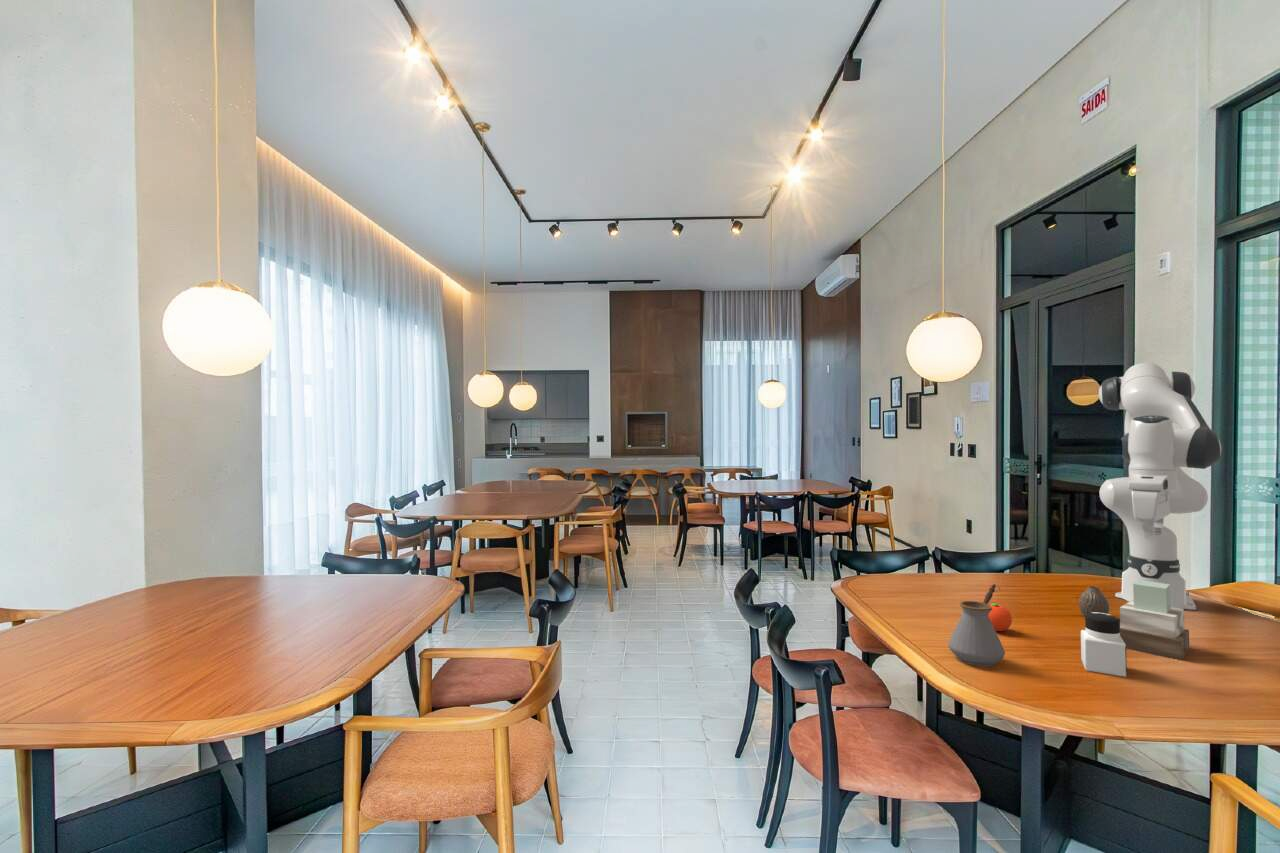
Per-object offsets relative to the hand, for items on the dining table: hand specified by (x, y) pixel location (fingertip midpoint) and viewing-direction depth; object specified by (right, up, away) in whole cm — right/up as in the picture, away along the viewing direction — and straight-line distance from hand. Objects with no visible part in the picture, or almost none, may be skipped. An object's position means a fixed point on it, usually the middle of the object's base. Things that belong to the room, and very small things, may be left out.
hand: (1153, 536), depth 141 cm
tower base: (-1, -28, -1) cm, 28 cm away
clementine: (-31, -28, +12) cm, 44 cm away
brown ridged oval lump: (+3, -28, +22) cm, 36 cm away
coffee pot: (-45, -28, -5) cm, 53 cm away
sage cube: (-1, -18, -1) cm, 18 cm away
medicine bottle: (-23, -27, -13) cm, 38 cm away
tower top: (-1, -23, -1) cm, 23 cm away
